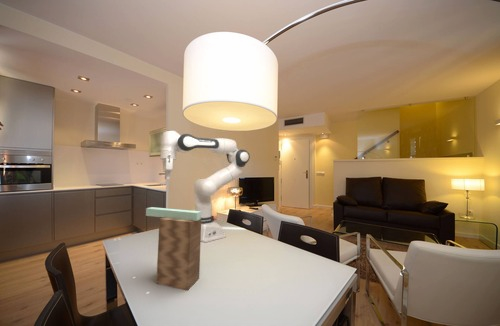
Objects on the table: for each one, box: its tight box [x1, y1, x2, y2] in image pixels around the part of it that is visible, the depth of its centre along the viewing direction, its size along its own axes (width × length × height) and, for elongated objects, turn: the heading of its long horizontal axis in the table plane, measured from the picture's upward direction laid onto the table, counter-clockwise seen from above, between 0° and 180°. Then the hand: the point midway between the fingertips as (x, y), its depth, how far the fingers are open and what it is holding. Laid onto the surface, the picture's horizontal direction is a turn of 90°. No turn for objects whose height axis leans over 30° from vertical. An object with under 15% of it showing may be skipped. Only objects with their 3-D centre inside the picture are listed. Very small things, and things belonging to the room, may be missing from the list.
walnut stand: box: [155, 217, 202, 291], centre depth 75 cm, size 14×8×25 cm, turn 75°
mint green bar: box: [145, 206, 201, 221], centre depth 77 cm, size 24×3×3 cm, turn 75°
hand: (167, 179), depth 113 cm, fingers open, 8 cm apart
